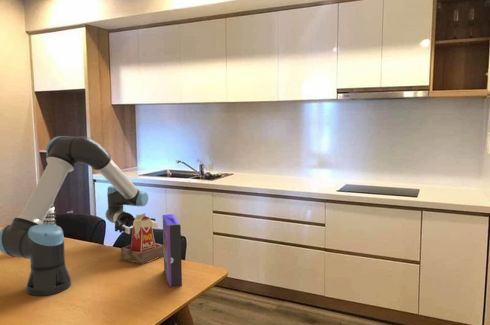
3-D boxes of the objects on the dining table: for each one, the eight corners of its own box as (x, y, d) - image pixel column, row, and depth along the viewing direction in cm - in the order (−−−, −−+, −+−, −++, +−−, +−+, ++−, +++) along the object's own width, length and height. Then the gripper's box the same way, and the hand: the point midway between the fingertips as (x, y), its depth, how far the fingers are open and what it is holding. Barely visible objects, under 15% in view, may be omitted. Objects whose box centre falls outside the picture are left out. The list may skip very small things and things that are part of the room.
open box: (164, 255, 187) (164, 245, 186) (141, 264, 175) (141, 253, 175) (144, 250, 194) (143, 240, 194) (121, 258, 183) (121, 248, 182)
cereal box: (164, 270, 168) (162, 214, 166) (175, 269, 170) (174, 213, 167) (169, 287, 152) (167, 225, 149) (181, 285, 153) (180, 224, 151)
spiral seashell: (37, 246, 200) (34, 197, 198) (58, 244, 204) (55, 196, 202) (37, 252, 192) (33, 201, 190) (58, 249, 196) (55, 199, 193)
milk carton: (157, 255, 185) (156, 212, 183) (139, 260, 178) (138, 215, 176) (147, 250, 191) (145, 209, 189) (129, 255, 185) (127, 212, 183)
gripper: (147, 222, 207) (167, 231, 191) (99, 231, 191) (117, 241, 175) (146, 208, 207) (167, 215, 190) (98, 216, 191) (116, 225, 174)
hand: (143, 228), depth 183 cm, fingers open, 13 cm apart
